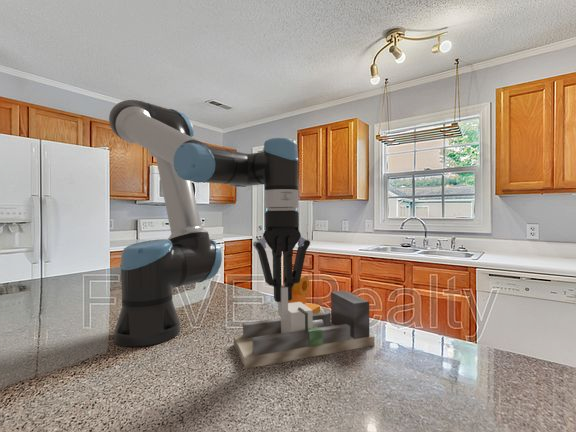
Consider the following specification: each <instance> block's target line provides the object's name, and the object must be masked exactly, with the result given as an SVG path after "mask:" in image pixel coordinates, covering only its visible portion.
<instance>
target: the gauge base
mask: <svg viewBox="0 0 576 432" xmlns="http://www.w3.org/2000/svg"><path fill="white" fill-rule="evenodd" d="M330 311H331V312H329V311H324V312H320V313H315V314H313V321H314V320H321V319H322V320H323V323H324V325H323V327H316V328H310V329H308V333H305V330H302V331H295V332H289V333H281V317H279V318H278V317H277V318H271V319H262V320H254V321H250V322H249V321H248V322H243V323H242V335H241V334H240V335H235V336H234V335H233V346H234V348H235V350H236V352H237V354H238V357H239V359H240V361H241V364H242V365H243V368H244V369H245V370H247V369H252V368H258V367H264V366H269V365H274V364H280V363H285V362H291V361H297V360H301V359H308V358H314V357H318V356H324V355H329V354H334V353H340V352H346V351H350V350H351V351H352V350H355V349H360V348H361V349H363V348H368V347H372V346H373V347H374V346H375V342H376V341H375V336H374V335H373V334H371V333H370V301H369V300H366V299H365V298H362V297H360V296H359V295H355V294H353V293H351V292H350V291H346V290H338V291H337V290H336V291H335V290H334V291H330Z"/></svg>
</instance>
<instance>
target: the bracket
mask: <svg viewBox="0 0 576 432" xmlns="http://www.w3.org/2000/svg"><path fill="white" fill-rule="evenodd" d="M309 288H310V280H309V278H308V276H306V275H301V278H300V282H299V283H295V284H294V286H293V287H292V299H291V300H290V301H288V303H294V302H301V303H303V304H304V305H306V306H307V307H309V308H310V309H311V310H313V314H315V313H321V305H320V304H316V303H311V302H307V300H306V299H307V298H306V295H307V293H308V292H309V290H310V289H309Z"/></svg>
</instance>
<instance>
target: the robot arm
mask: <svg viewBox="0 0 576 432" xmlns="http://www.w3.org/2000/svg"><path fill="white" fill-rule="evenodd" d="M108 122H109V127H110V128H111V130H112V132H113V133H114V134H115V135H116V136H118V137H119V138H120V139H122V140H123V141H125V142H127V143H130V144H137V145H139V146H140V147H142V148H144V149H146V150H147V151H148V152H149V155H150V156H151V157H153V158H155V161H156V165H157V170H158V173H159V174H158V175H159V179H160V180H159V181H160V185H161V189H162V195H163V200H164V204H165V209H166V210H165V211H166V213H167V219H168V223H169V229H170V236H169V237H168V238H167V239H165V238H164V239H154V240H145V241H141V242H136V243H133V244H130V245H127V246H126V247H124V248H123V250H122V251H121V258H120V265H119V266H120V267H119V268H120V279H121V283H120V284H121V309H120V313H119V316H118V318H117V321H116V325H115V328H114V332H113V336H114V337H113V338H114V342H115V344H116V345H119V346H123V347H129V348H131V347H135V348H137V347H138V348H139V347H146V346H152V345H157V344H160V343H163V342H166V341H170V340H172V339H173V338H175V337H176V336H178V335H179V334H180V331H181V322H180V318H179V316H178V313H177V309H176V307H175V304H174V301H173V289H174V288H178V287H182V286H183V287H184V286H188V285H192V284H196V283H197V284H199V283H204V282H205V281H207V280H211V279H212V278H214V277H215V276H216V275H218V272H219V269H220V268H221V265H222V262H223V260H222V259H223V253H222V249H221V247H220V244H218V242H216V241H215V240H213V239H211V238H210V236H209V235H210V234H209V231H207V230H206V229H204V228H203V227H202V223H201V219H200V214H199V210H198V206H197V205H198V204H197V201H196V196H195V192H194V187H193V183H196V184H197V183H207V184H220V185H221V184H223V185H230V186H231V187H239V188H246V187H250V186H260V185H264V208H265V209H267V210H266V211H265V212H264V232H263V234H262V238H260V239H259V240H258V241H254V242H253V244H252V246H253V247H254V249H255V250H256V251H257V253H258V259H259V262H260V265H261V270H262V274H263V277H264V282H265V283H266V284H267V285H269V286H270V287H271V286H272V287H273V299H274V301H275V302H276V303H277V315H278V316H280V318H281V317H282V318H284V317H288V301H290V300H291V299H292V287H293V286H294V284H295V283H299V282H300V278H301V276H302V273H303V267H304V264H305V259H306V258H305V257H306V253H307V251H308V248H309V247H310V246H311V241H310V240H309V239H306V238H304V237H302V234H301V232H300V230H299V229H300V228H299V226H300V221H299V220H300V219H299V218H300V213H299V210H297V209H298V208H299V183H298V182H299V155H298V144H297V141H295V140H294V139H292V138H286V137H285V138H284V137H274V138H269V139H267V140H265V141H264V143H263V148H262V151H259V152H254V153H245V152H240V151H234V150H229V149H224V148H219V147H215V146H211V145H209V144H206V143H204V142H202V141H200V140H199V139H196V138H194V133H195V131H194V126H193V123H192V121H191V120H190V118H189V117H188V116H187V115H186V114H185V113H184V112H180V111H178V110H176V109H173V108H166V107H162V106H160V105H156V104H152V103H148V102H145V101H143V100H137V99H127V100H122V101H120V102H118V103H117V104H115V105H114V106H113V107H112V108H111V110H110V112H109V116H108ZM266 244H267V245H268V247H269V248H270V249H271V254H272V270H271V267H270V266H271V265H270V262H269V259H268V254H267V252H266V250H265V249H266V248H267V245H266ZM296 245H297V246H298V247H297V249H296V254H295V258H294V264H293V255H294V248H295V247H296ZM282 257H283V284H282Z"/></svg>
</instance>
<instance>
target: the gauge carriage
mask: <svg viewBox="0 0 576 432" xmlns="http://www.w3.org/2000/svg"><path fill="white" fill-rule="evenodd" d="M280 318H281V333H289V332H295V331H302V330H305V333H308V329H310V328H316V327H323V325H324V323H323V320H322V319H321V320H314V321H313V310H311V309H310V308H309V307H307V306H306V305H304V304H303V303H301V302H294V303H288V317H284V318H282V317H281V316H280Z"/></svg>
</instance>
